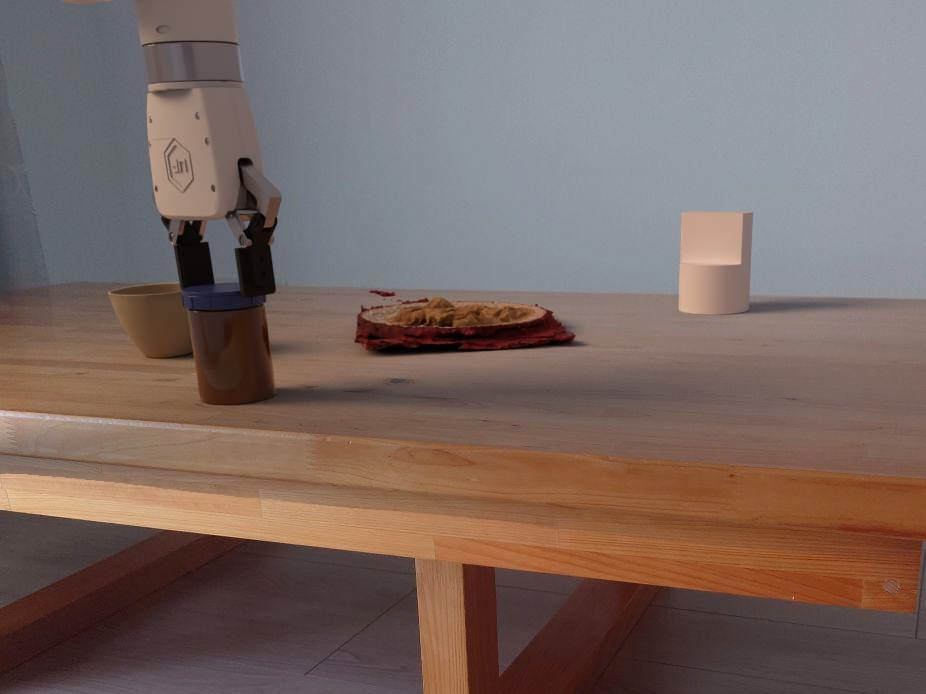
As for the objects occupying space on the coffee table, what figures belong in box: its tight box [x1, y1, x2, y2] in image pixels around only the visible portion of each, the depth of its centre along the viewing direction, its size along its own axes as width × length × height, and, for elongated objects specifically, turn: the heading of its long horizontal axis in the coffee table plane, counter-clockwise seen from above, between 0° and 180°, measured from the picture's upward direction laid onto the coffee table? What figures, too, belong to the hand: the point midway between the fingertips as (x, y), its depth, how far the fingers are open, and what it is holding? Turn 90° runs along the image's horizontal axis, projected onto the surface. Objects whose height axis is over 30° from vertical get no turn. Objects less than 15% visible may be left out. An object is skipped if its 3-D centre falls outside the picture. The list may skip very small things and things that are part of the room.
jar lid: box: [182, 281, 268, 310], centre depth 88 cm, size 7×7×1 cm
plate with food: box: [353, 289, 577, 351], centre depth 119 cm, size 24×26×3 cm
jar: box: [187, 302, 277, 406], centre depth 89 cm, size 7×7×9 cm
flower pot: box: [107, 281, 193, 359], centre depth 110 cm, size 10×10×7 cm
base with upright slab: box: [678, 210, 754, 316], centre depth 129 cm, size 9×9×12 cm
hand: (227, 291), depth 88 cm, fingers open, 8 cm apart
